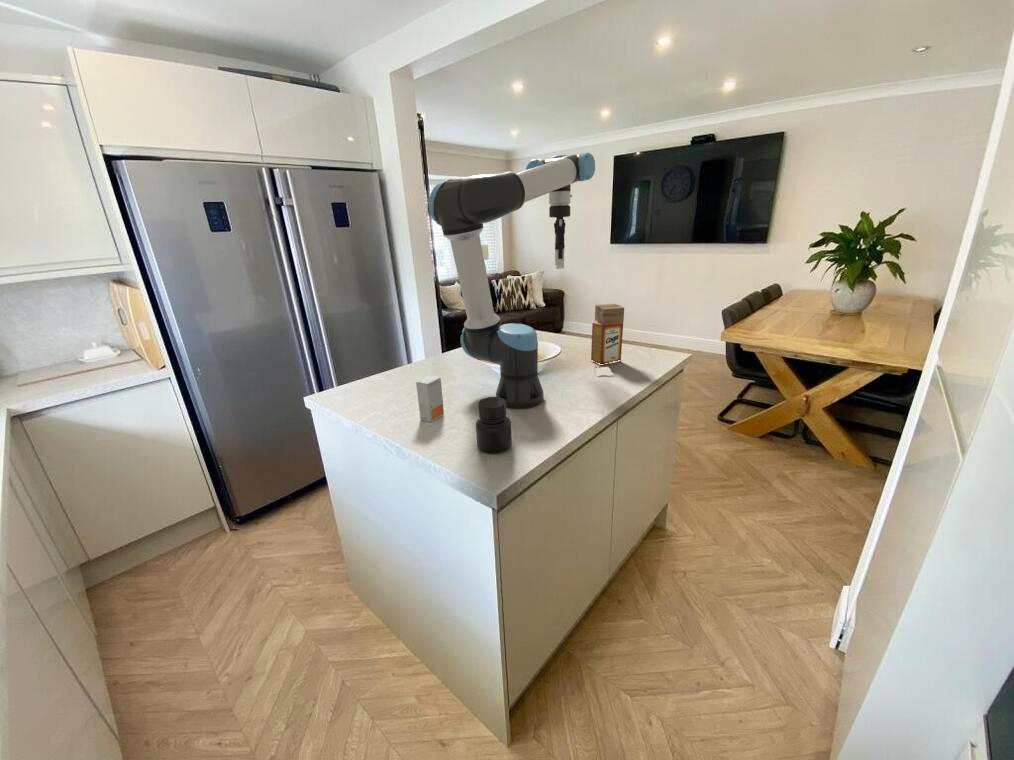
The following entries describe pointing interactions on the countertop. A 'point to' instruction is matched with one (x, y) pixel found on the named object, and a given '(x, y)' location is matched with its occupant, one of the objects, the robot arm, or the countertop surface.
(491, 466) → the countertop surface
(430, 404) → the skincare box
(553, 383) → the countertop surface
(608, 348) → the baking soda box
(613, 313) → the walnut block
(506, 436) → the ink bottle
